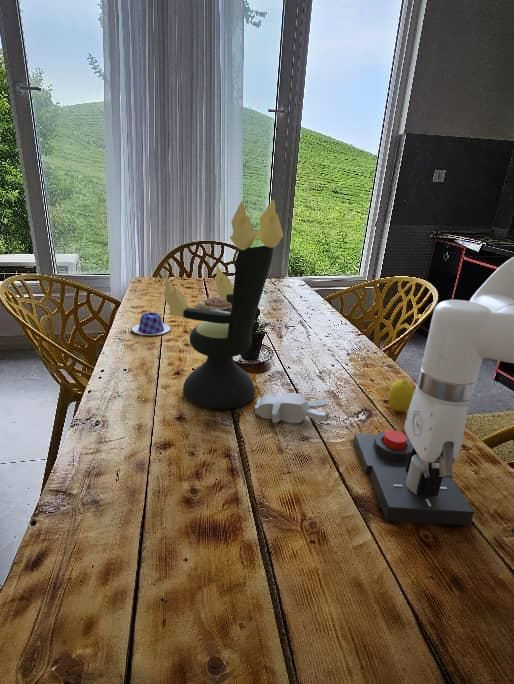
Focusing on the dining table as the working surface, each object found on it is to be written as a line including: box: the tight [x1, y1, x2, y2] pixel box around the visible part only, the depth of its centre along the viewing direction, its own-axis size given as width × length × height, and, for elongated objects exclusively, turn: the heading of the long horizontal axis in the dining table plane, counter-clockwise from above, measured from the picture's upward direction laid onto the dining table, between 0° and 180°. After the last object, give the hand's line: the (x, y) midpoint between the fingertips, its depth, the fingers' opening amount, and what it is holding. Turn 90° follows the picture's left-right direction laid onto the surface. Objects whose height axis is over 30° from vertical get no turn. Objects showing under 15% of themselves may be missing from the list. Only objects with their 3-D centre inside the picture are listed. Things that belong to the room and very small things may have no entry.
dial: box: [406, 454, 440, 495], centre depth 72 cm, size 4×4×5 cm
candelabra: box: [164, 199, 285, 411], centre depth 95 cm, size 19×22×45 cm
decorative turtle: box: [194, 295, 232, 314], centre depth 162 cm, size 18×17×5 cm
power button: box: [383, 429, 407, 450], centre depth 82 cm, size 4×4×2 cm
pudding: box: [131, 311, 171, 336], centre depth 140 cm, size 12×12×5 cm
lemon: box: [387, 379, 415, 413], centre depth 99 cm, size 6×6×8 cm
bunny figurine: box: [254, 392, 328, 424], centre depth 95 cm, size 10×5×15 cm
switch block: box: [353, 431, 413, 476], centre depth 83 cm, size 12×10×4 cm
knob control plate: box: [369, 466, 475, 527], centre depth 73 cm, size 13×10×3 cm
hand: (420, 482), depth 72 cm, fingers closed on dial, 4 cm apart
